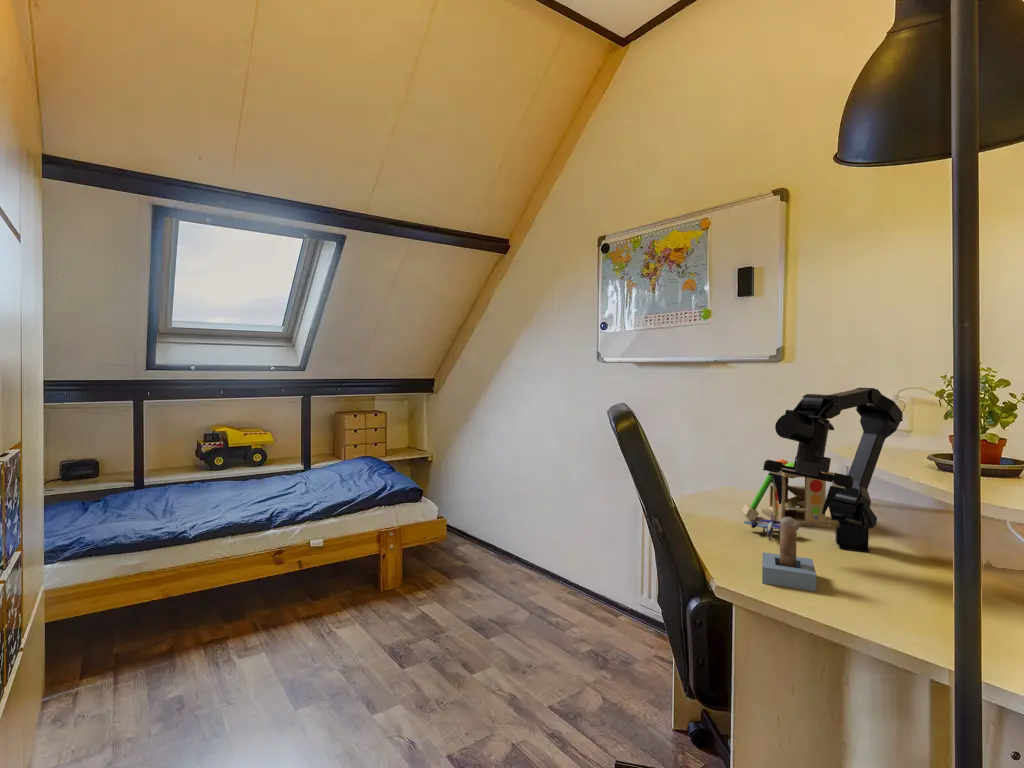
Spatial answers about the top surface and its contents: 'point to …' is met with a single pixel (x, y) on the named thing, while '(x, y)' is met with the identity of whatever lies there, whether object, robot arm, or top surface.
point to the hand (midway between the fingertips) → (801, 509)
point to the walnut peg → (788, 542)
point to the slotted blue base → (788, 573)
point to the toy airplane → (766, 525)
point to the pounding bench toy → (792, 500)
